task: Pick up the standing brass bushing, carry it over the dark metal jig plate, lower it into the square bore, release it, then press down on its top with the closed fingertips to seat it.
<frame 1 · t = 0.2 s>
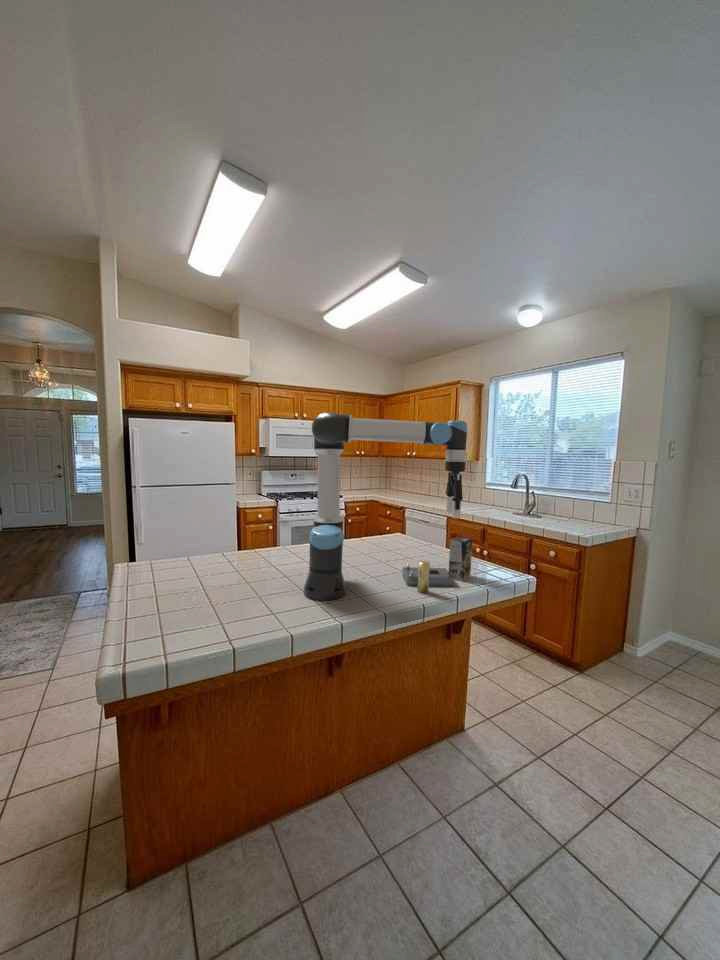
hand: (452, 515, 151), 27 cm above the countertop, fingers open, 13 cm apart
bushing: (422, 591, 143), on the countertop
jig: (426, 580, 156), on the countertop
coffee box: (459, 577, 162), on the countertop
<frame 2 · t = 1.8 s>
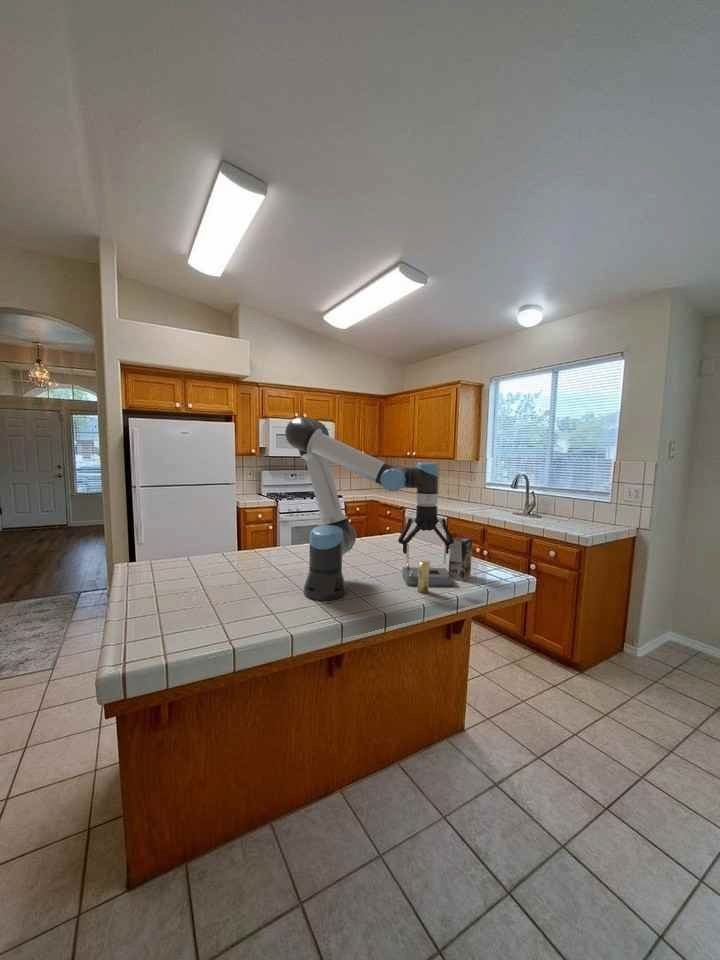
hand: (425, 562, 142), 11 cm above the countertop, fingers open, 13 cm apart
nothing on the countertop moved.
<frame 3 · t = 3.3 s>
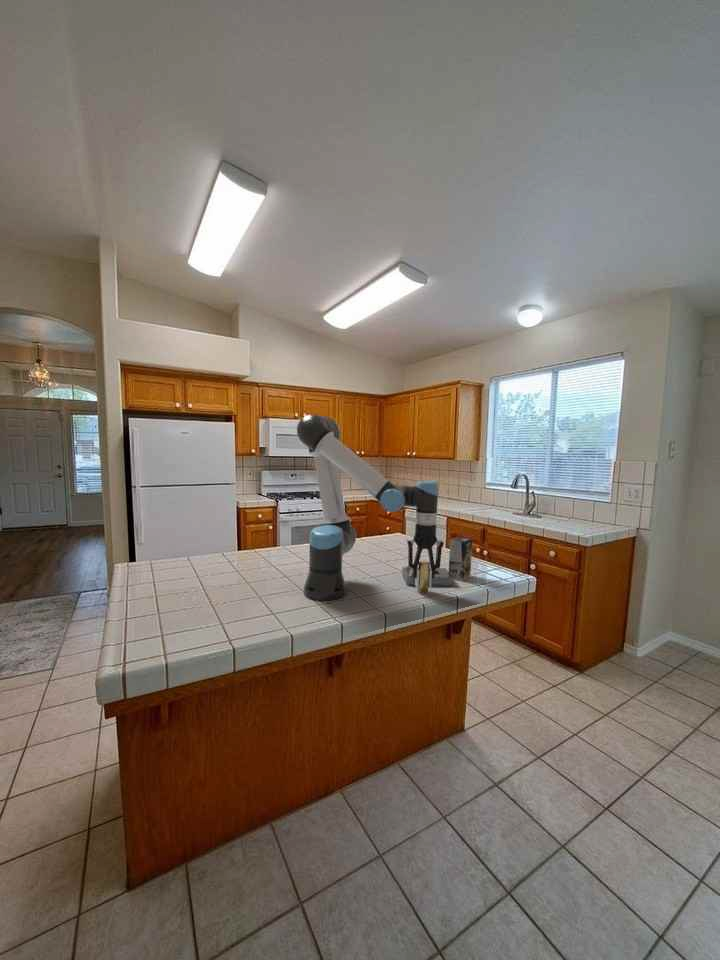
hand: (423, 586, 143), 2 cm above the countertop, fingers closed on bushing, 4 cm apart
bushing: (422, 591, 143), on the countertop, touching gripper
everything else where it was.
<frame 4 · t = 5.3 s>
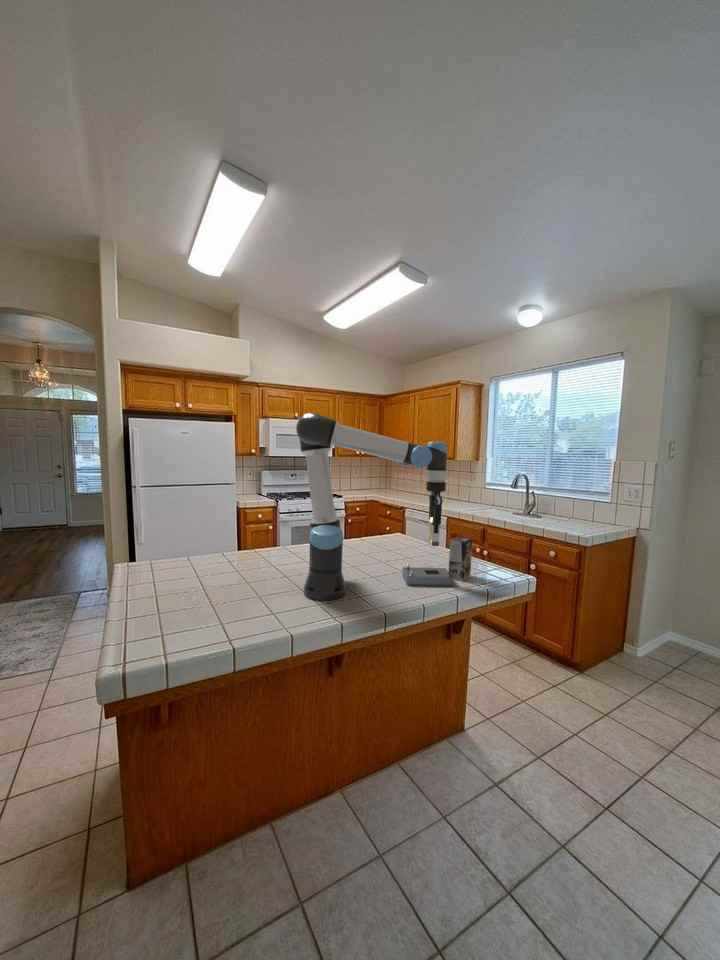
hand: (433, 539, 154), 17 cm above the countertop, fingers closed on bushing, 4 cm apart
bushing: (433, 544, 154), point 15 cm above the countertop, touching gripper
everything else where it was.
when the fingers open (5 cm above the countertop, at t = 7.2 s): bushing drops 2 cm, resting in jig.
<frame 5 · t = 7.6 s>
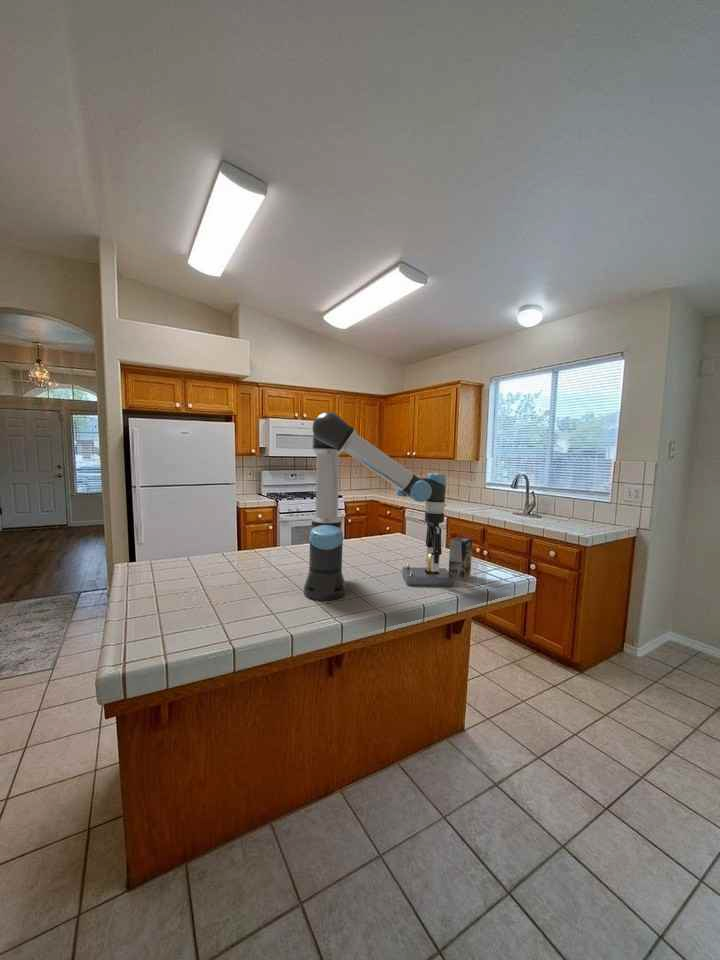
hand: (432, 566, 155), 6 cm above the countertop, fingers open, 10 cm apart
bushing: (431, 580, 156), resting in jig
everything else where it was.
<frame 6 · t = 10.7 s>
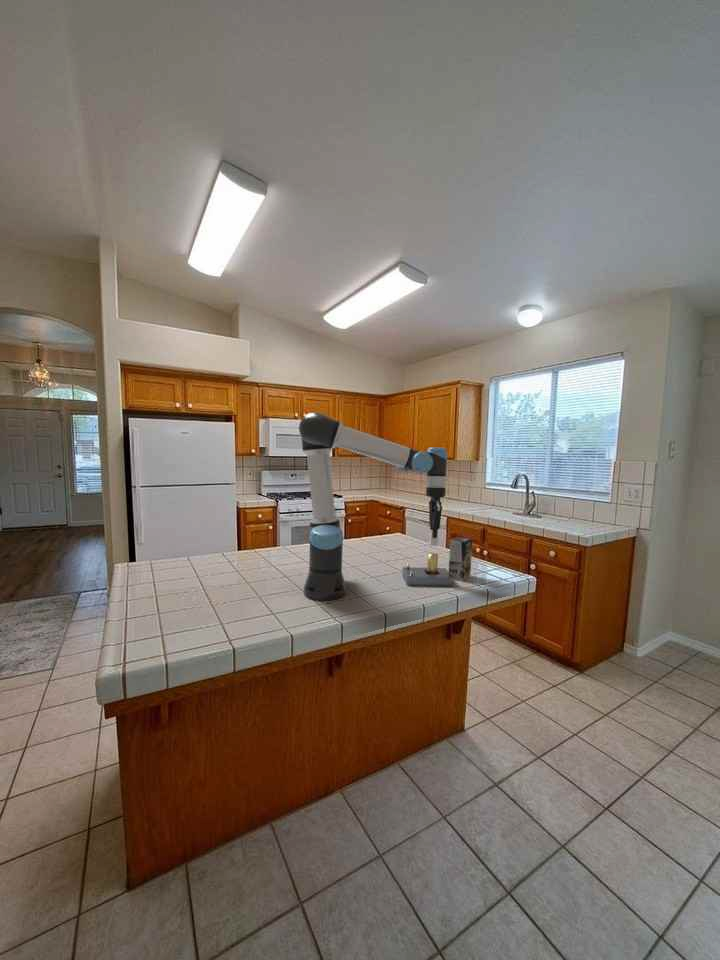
hand: (433, 545, 155), 15 cm above the countertop, fingers closed
nothing on the countertop moved.
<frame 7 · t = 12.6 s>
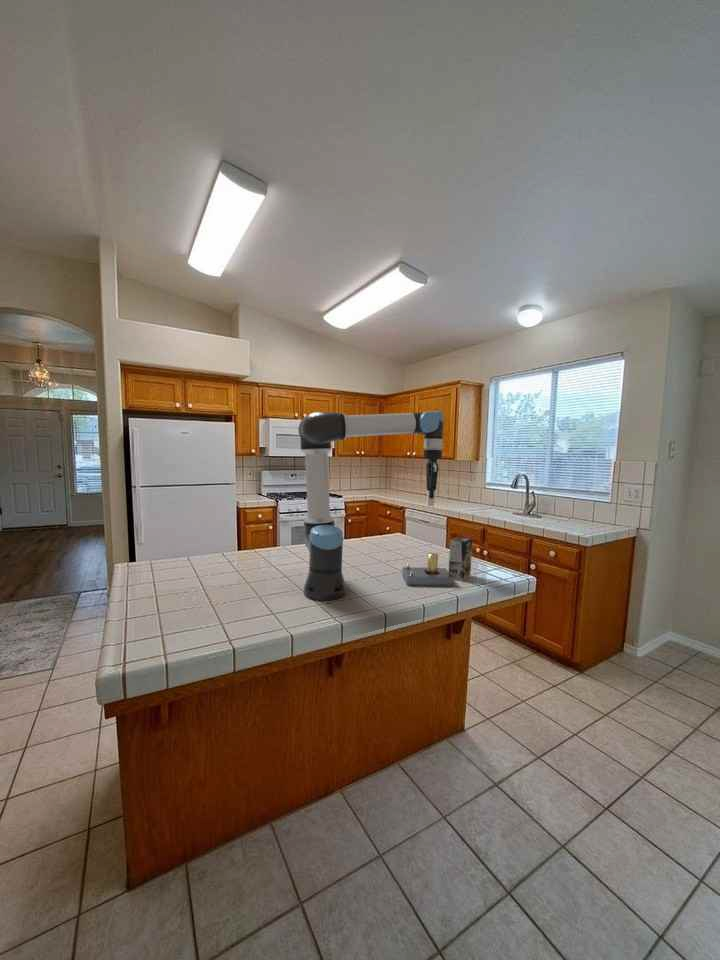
hand: (430, 505, 162), 29 cm above the countertop, fingers closed
nothing on the countertop moved.
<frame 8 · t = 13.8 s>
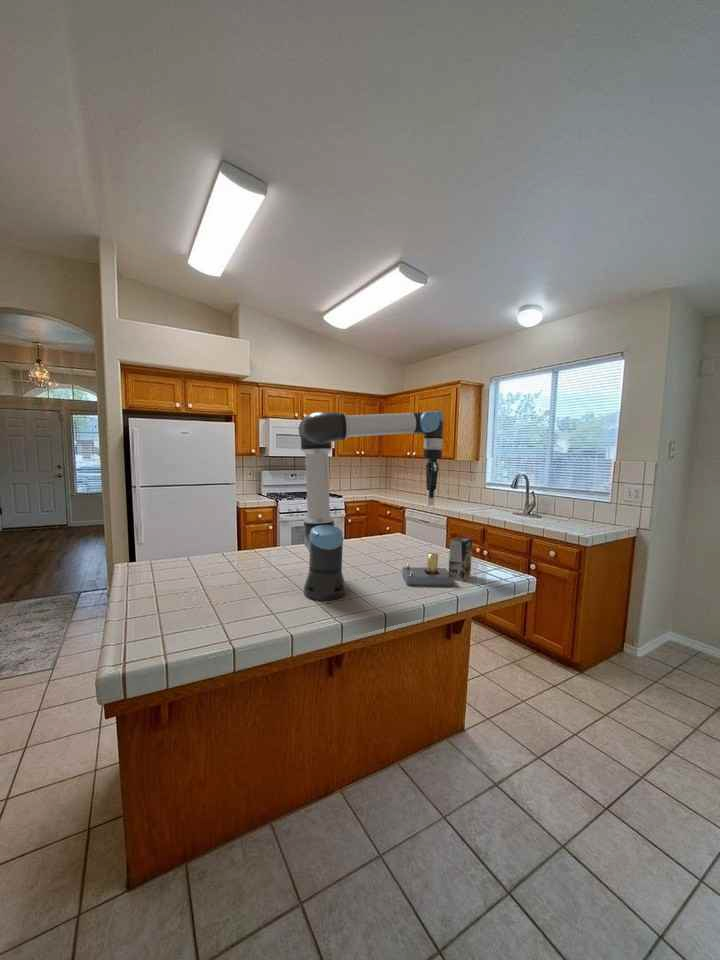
hand: (430, 505, 162), 29 cm above the countertop, fingers closed
nothing on the countertop moved.
at the end: bushing 0.0 cm from the target spot on the jig, point 0.0 cm above the jig's base; bushing tilted 0°; the gripper is holding nothing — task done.
